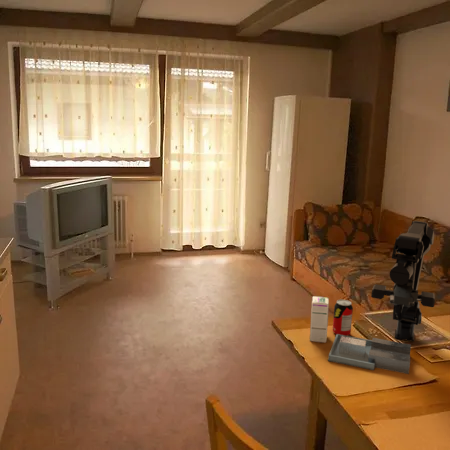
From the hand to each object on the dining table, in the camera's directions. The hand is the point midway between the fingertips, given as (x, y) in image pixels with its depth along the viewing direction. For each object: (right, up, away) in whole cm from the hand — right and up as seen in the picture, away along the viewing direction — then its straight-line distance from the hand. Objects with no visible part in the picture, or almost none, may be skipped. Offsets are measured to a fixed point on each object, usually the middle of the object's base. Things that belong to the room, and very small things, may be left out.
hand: (399, 319), depth 155 cm
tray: (-14, -11, +2) cm, 18 cm away
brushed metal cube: (-15, -9, +2) cm, 18 cm away
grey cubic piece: (-13, -11, +1) cm, 17 cm away
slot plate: (-4, -13, -2) cm, 13 cm away
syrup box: (-24, -9, +12) cm, 28 cm away
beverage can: (-15, -8, +16) cm, 23 cm away
